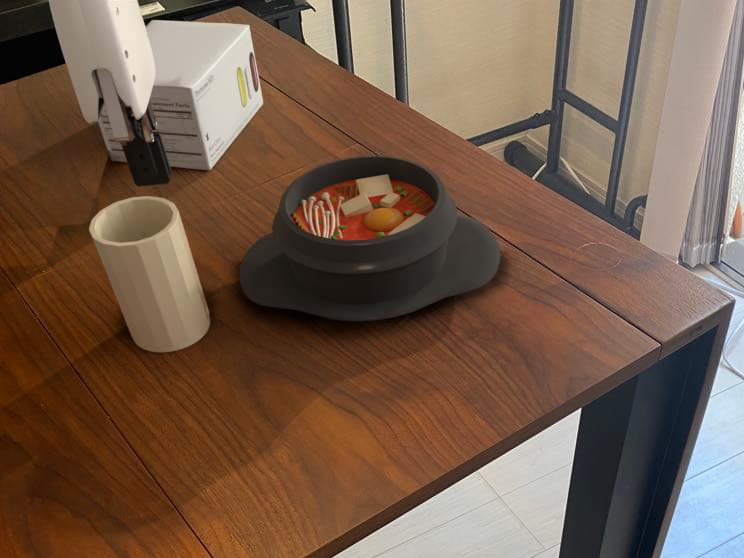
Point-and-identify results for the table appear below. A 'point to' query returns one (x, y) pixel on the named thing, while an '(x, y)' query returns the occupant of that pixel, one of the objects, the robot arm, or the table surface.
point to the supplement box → (198, 90)
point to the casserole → (367, 243)
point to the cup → (152, 272)
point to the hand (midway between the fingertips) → (154, 180)
